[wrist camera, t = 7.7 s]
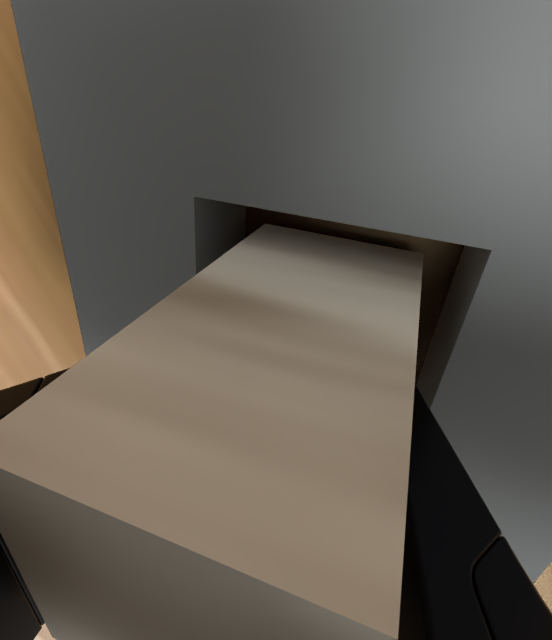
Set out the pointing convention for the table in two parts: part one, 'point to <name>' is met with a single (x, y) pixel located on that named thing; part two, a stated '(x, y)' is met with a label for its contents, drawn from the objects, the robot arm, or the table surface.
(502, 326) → the socket block
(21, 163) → the table surface
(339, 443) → the cream peg
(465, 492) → the robot arm
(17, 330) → the table surface
